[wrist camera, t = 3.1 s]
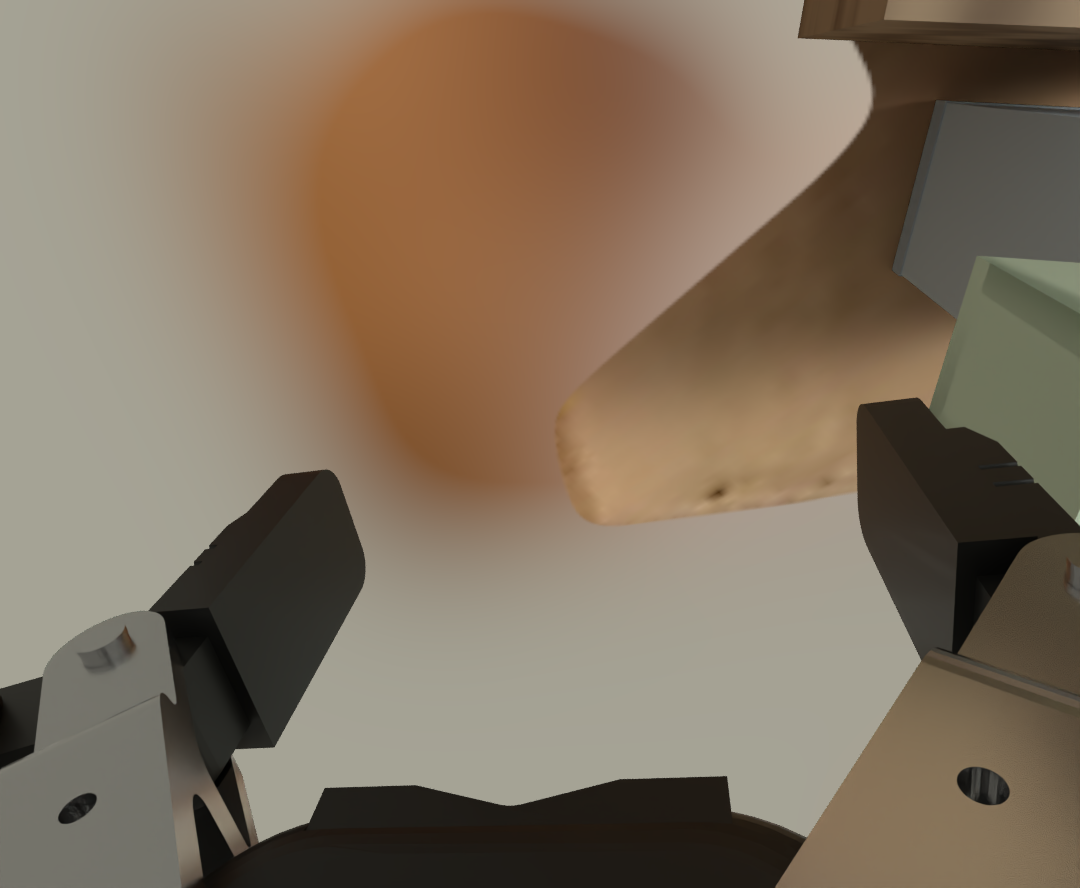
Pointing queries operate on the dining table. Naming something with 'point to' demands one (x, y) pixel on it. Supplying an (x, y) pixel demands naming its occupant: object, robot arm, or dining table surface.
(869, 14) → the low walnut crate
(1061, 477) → the sage crate
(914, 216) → the block
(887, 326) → the dining table surface
